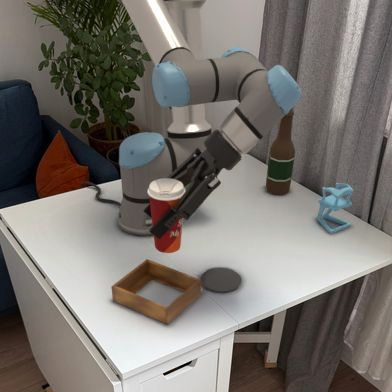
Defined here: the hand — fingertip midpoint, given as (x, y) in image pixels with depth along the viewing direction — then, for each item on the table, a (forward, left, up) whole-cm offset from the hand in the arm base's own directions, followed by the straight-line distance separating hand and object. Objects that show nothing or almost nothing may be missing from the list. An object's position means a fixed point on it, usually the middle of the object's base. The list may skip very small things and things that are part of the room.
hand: (151, 224), depth 107 cm
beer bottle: (0, +66, -19) cm, 69 cm away
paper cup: (+2, +2, -6) cm, 7 cm away
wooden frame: (+1, 0, -19) cm, 19 cm away
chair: (+22, +55, -19) cm, 62 cm away
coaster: (+10, +14, -19) cm, 25 cm away
